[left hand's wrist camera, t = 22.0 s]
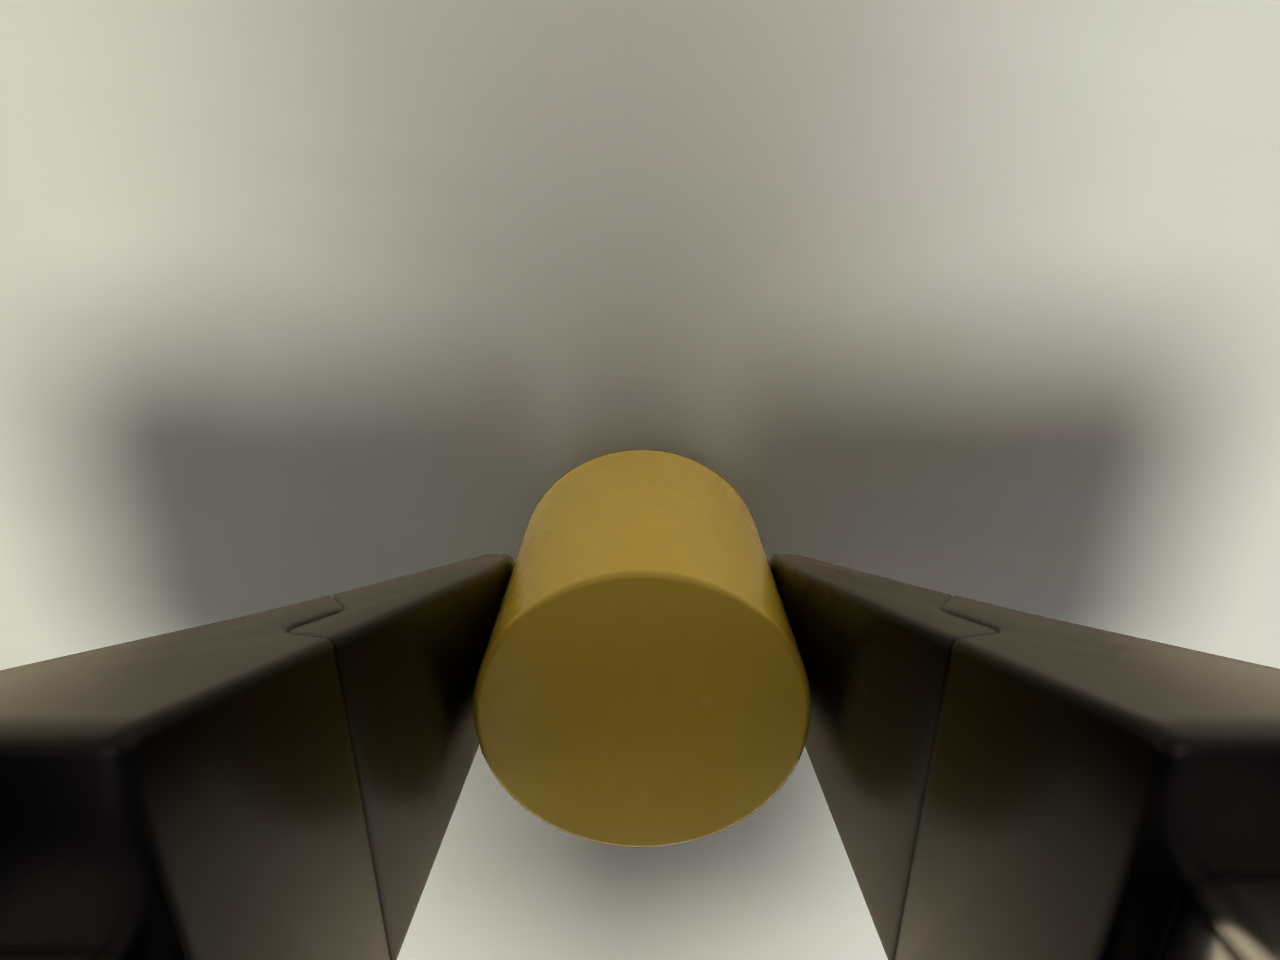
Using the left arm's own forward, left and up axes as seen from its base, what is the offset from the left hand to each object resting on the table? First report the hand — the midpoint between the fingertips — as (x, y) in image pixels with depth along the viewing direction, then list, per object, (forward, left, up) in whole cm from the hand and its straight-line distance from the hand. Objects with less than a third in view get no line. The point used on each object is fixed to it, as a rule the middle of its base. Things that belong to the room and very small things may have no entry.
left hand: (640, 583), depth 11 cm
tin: (0, 0, -1) cm, 1 cm away
